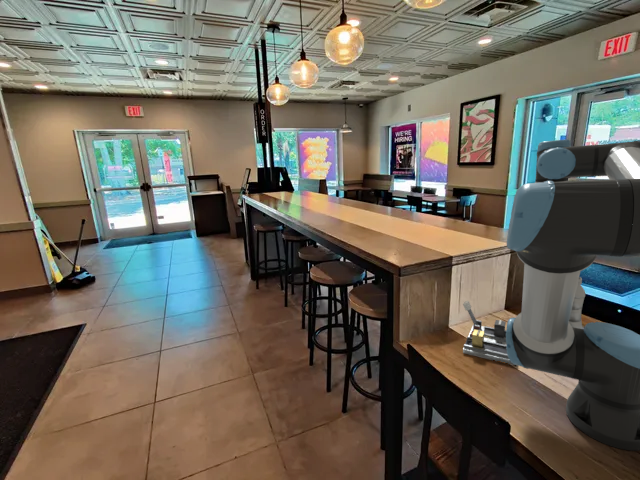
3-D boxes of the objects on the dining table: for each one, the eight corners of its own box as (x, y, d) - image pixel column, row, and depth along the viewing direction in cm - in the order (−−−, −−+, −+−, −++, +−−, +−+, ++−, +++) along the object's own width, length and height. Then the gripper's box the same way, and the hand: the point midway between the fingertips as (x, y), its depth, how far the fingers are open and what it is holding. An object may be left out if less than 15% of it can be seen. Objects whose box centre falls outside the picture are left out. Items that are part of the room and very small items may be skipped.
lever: (479, 329, 112) (467, 303, 113) (475, 330, 113) (462, 304, 114) (480, 326, 114) (468, 300, 114) (476, 327, 115) (464, 301, 115)
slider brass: (482, 348, 103) (482, 335, 102) (472, 346, 105) (472, 333, 103) (483, 343, 106) (484, 330, 105) (473, 341, 107) (474, 328, 106)
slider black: (503, 337, 108) (504, 325, 107) (493, 335, 109) (494, 323, 108) (504, 333, 111) (505, 320, 109) (495, 331, 112) (495, 319, 111)
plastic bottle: (559, 334, 110) (565, 280, 106) (556, 324, 116) (561, 273, 111) (583, 337, 107) (590, 282, 103) (578, 327, 113) (584, 275, 108)
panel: (516, 366, 96) (517, 353, 95) (462, 352, 105) (463, 340, 103) (520, 337, 110) (521, 326, 109) (473, 328, 119) (473, 317, 118)
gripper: (577, 194, 90) (569, 272, 96) (523, 194, 98) (519, 267, 103) (580, 197, 84) (571, 280, 90) (522, 198, 92) (517, 274, 97)
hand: (543, 273), depth 96 cm, fingers closed
